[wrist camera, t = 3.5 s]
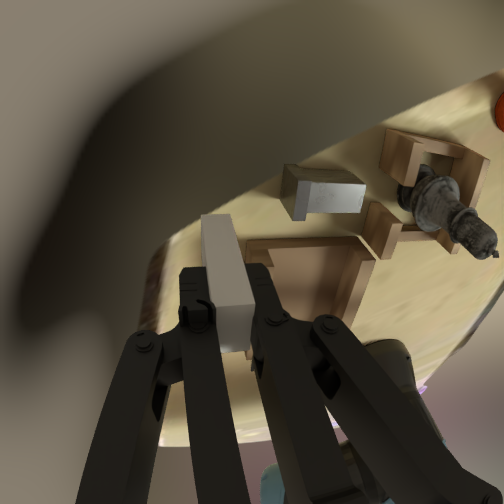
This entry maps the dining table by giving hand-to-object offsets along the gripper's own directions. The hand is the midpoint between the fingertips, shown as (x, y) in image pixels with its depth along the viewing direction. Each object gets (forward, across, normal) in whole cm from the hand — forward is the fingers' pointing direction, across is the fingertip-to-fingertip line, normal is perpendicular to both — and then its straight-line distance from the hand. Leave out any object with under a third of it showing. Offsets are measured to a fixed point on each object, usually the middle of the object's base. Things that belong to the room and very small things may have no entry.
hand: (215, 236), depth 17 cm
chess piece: (+9, -21, +1) cm, 23 cm away
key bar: (+9, -9, +1) cm, 13 cm away
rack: (+9, -9, +12) cm, 17 cm away
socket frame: (+9, -21, 0) cm, 22 cm away
